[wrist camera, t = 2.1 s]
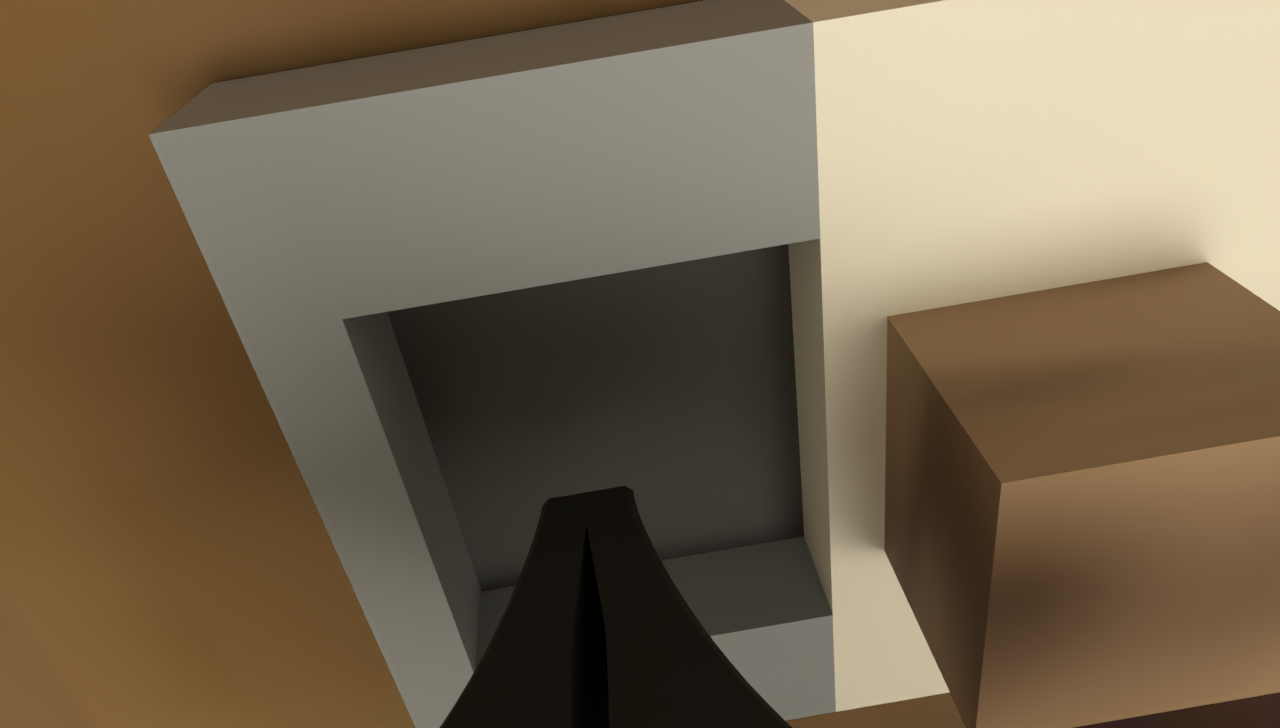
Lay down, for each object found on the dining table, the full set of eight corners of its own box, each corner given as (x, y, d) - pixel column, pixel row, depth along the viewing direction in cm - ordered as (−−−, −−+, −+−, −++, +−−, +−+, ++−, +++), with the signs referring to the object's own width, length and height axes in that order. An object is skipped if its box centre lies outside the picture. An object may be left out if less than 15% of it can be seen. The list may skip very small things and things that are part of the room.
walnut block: (1151, 505, 16) (1311, 686, 13) (884, 550, 16) (974, 744, 13) (1207, 261, 14) (1427, 410, 10) (887, 316, 14) (1001, 483, 10)
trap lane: (1785, 452, 21) (1927, 525, 19) (449, 681, 21) (439, 779, 19) (2302, -269, 13) (2633, -285, 11) (211, 83, 13) (148, 134, 11)
